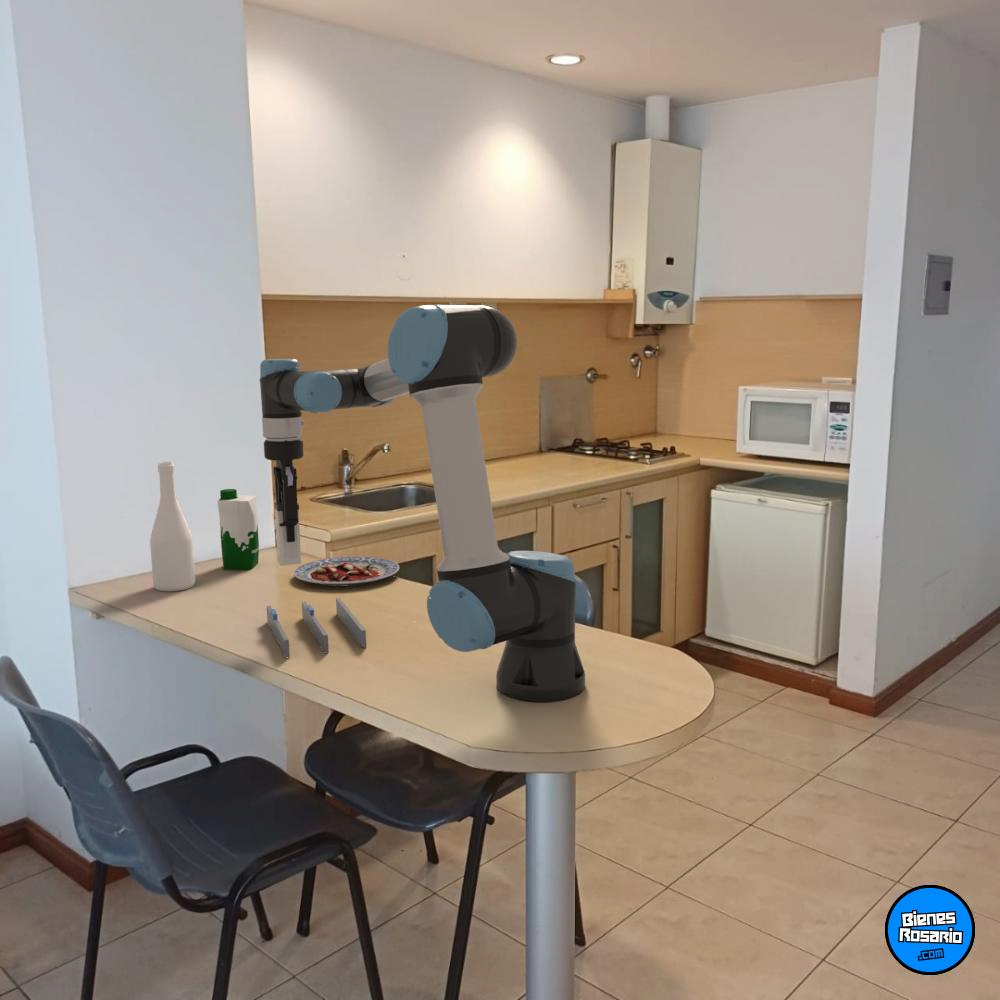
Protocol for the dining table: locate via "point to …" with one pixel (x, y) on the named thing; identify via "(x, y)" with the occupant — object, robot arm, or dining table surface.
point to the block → (279, 535)
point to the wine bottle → (171, 539)
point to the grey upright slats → (317, 626)
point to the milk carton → (238, 530)
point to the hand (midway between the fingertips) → (288, 554)
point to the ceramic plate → (346, 570)
